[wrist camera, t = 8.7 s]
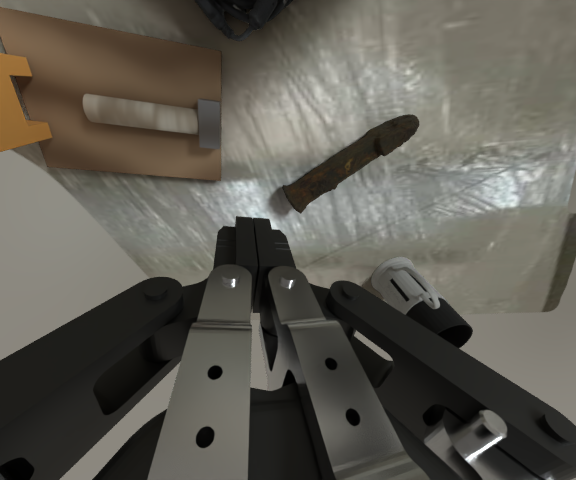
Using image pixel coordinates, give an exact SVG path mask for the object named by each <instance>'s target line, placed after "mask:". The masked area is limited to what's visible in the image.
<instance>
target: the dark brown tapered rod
mask: <svg viewBox="0 0 576 480" xmlns="http://www.w3.org/2000/svg"><path fill="white" fill-rule="evenodd" d="M418 127H419V120H418V119H417V117H416V116H415V115H403V116H399V117H397V118H394V119H392V120H390V121H387V122H385V123H383V124H381V125H379V126H377V127H375V128H373V129H371V130H369V131H368V132H367V133H366V136H365V137H363V138H362V139H360V140H359V141H357V142H355V143H354V144H352V145H351V146H349V147H348V148H346V149H345V150H343V151H341V152H339V153H338V154H336V155H335V156H334V157H333V158H331V159H329V160H328V161H326V162H325V163H323V164H321V165H320V166H318V167H317V168H315V169H313V170H312V171H311V172H310V173H308V174H306V175H305V176H304V177H302V178H301V179H300V180H298V181H297V182H295V183H293V184H292V185H289V186H285V185H283V190H284V192H285V195H286V197H287V199H288V200H289V202H290V204H291V205H292V206H293V208H294V209H295V210H296V211H298V212H299V213H302V211H303V210H304V209H305V208H306V206H307V205H308V204H309V203H310V202H312V201H314V200H315V199H316V198H318V197H319V196H320V195H322V194H324V193H326V192H328V191H331V190H332V189H336V187H337V185H338V184H339V183H340V182H342V181H343V180H345V179H346V178H347V177H349V176H351V175H352V174H354V173H355V172H357V171H358V170H360V169H361V168H363V167H364V166H365V165H367V164H368V163H369V162H371V161H372V160H374V159H376V158H378V157H379V156H380V155H383V156H386V155H388V154H389V153H391V152H392V151H393V150H394V149H396V148H397V147H400V146H401V145H402V144H403V143H404V142H406V141H408V140H409V139H410V137H411V136H413V135H414V134H415V132H416V131H417V128H418Z"/></svg>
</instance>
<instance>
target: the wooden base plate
mask: <svg viewBox="0 0 576 480" xmlns="http://www.w3.org/2000/svg"><path fill="white" fill-rule="evenodd" d="M0 37H1V39H2V42H3V45H4V48H5V50H6V53H7V54H9V55H15V56H21V57H26V59H27V62H28V65H29V68H30V71H31V74H32V76H16V75H15V78H16V81H17V84H18V86H19V89H20V92H21V95H22V98H23V100H24V103H25V106H26V109H27V111H28V114H29V117H30V120H31V121H40V122H48V125H49V128H50V131H51V134H52V138H49V139H45V140H42V141H38V142H39V145H40V148H41V150H42V153H43V156H44V159H45V161H46V164H47V167H56V168H68V169H81V170H93V171H106V172H118V173H131V174H143V175H156V176H168V177H180V178H193V179H205V180H218V181H221V51H217V50H212V49H207V48H202V47H197V46H192V45H187V44H182V43H177V42H172V41H167V40H162V39H157V38H152V37H147V36H142V35H137V34H132V33H127V32H122V31H117V30H112V29H107V28H102V27H97V26H92V25H87V24H82V23H77V22H72V21H67V20H62V19H57V18H52V17H47V16H42V15H37V14H32V13H27V12H22V11H17V10H12V9H7V8H2V7H0Z"/></svg>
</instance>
